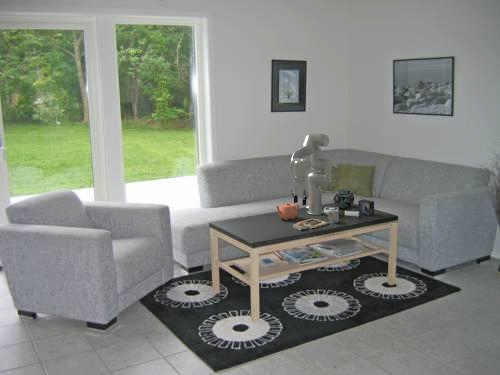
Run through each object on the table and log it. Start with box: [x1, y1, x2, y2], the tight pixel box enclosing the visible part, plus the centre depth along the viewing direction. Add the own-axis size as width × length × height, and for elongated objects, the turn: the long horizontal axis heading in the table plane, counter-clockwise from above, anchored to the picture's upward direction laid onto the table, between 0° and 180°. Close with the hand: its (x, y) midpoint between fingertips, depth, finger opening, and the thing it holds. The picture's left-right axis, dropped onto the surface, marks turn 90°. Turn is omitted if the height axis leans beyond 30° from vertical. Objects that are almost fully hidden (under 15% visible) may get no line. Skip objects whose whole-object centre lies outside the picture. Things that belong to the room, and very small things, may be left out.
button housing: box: [292, 223, 309, 231], centre depth 364 cm, size 7×7×3 cm
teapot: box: [275, 202, 300, 221], centre depth 388 cm, size 20×12×12 cm, turn 113°
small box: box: [357, 198, 375, 217], centre depth 393 cm, size 11×6×10 cm, turn 43°
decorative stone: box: [333, 188, 355, 209], centre depth 413 cm, size 16×16×15 cm
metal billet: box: [327, 209, 339, 225], centre depth 377 cm, size 4×6×8 cm
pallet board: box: [295, 217, 330, 230], centre depth 373 cm, size 16×17×2 cm
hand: (300, 203), depth 360 cm, fingers open, 8 cm apart
